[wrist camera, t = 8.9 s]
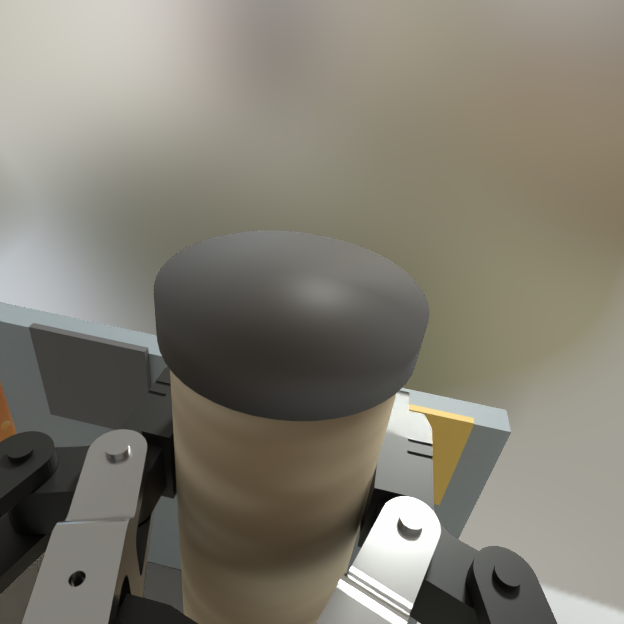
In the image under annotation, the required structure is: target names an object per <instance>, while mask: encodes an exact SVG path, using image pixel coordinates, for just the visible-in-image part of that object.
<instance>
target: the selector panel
mask: <svg viewBox="0 0 624 624" xmlns="http://www.w3.org/2000/svg"><path fill="white" fill-rule="evenodd" d="M166 367H168V366H167V365H166V363H165V362H164V359H163V357H162V355H161V353H160V351H159V346H158V342H157V336H156V335H152V334H147V333H142V332H138V331H133V330H128V329H123V328H119V327H114V326H109V325H105V324H100V323H95V322H90V321H86V320H81V319H77V318H72V317H67V316H62V315H58V314H53V313H48V312H44V311H39V310H34V309H29V308H25V307H20V306H16V305H10V304H6V303H2V302H0V382H1V385H2V388H3V392H4V395H5V398H6V401H7V404H8V407H9V411H10V414H11V417H12V420H13V423H14V426H15V430H16V433H17V434H18V433H22V432H28V431H37V432H42V433H45V434H47V435H48V436H50V437H51V438H52V440H53V442H54V446H55V447H75V446H89V445H91V444H92V443H93V442H94V441H95V440H96V439H97V438H98V437H100V436H102V435H103V434H105V433H108V432H110V431H114V430H119V429H120V428H121V427H122V426H123V424H124V423H125V422H126V420H127V419H128V417H129V416H130V415H131V413H132V412H133V411H134V409H135V408H136V407H137V405H138V404H139V403H140V401H141V400H142V398H143V397H144V396H145V394H146V393H148V391H149V389H150V388H151V386H152V385H153V384H154V383H155V382H156V379H157V378H158V377H159V375H160V374H161V373H162V371H163V370H164V369H165V368H166ZM400 390H401V391H406V392H409V394H410V398H409V411H413V412H417V413H422V414H425V416H426V418H427V420H428V422H429V424H430V426H431V428H432V447H433V457H432V459H433V496H434V510H435V513H436V516H437V518H438V520H439V521H440V523H441V524H442V526H443V527H444V528H445V529H446V530H447V531H448V532H449V533H450V534H451V535H452V536H454V537H455V538H457V539H458V538H459V536H460V534H461V532H462V530H463V528H464V526H465V524H466V522H467V520H468V518H469V516H470V514H471V512H472V510H473V508H474V506H475V504H476V502H477V500H478V498H479V496H480V494H481V492H482V490H483V488H484V486H485V484H486V482H487V480H488V478H489V476H490V474H491V472H492V470H493V468H494V466H495V463H496V462H497V460H498V457H499V456H500V454H501V452H502V449H503V447H504V445H505V443H506V441H507V439H508V437H509V435H510V433H511V429H510V425H509V420H508V416H507V412H506V410H503V409H499V408H494V407H489V406H485V405H480V404H475V403H470V402H466V401H461V400H456V399H452V398H447V397H442V396H438V395H433V394H428V393H423V392H419V391H414V390H409V389H405V388H401V389H400ZM360 523H361V522H360ZM359 531H360V526H359V530H358V533H357V537H356V540H355V544H354V547H353V551H352V555H351V558H350V562H349V565H348V569H347V573H348V571H349V570H350V568H351V566H352V564H353V563H354V561H355V559H356V557H357V555H358V553H359V551H360V550H361V548H362V547H358V539H359ZM147 561H148V562H152V563H156V564H160V565H164V566H168V567H172V568H176V569H179V570H181V558H180V540H179V522H178V504H177V493H176V495H175V497H174V499H172V498H168V497H164V496H161V497H160V499H159V501H158V503H157V504H156V506H155V508H154V520H153V527H152V533H151V540H150V547H149V554H148V560H147ZM347 573H346V574H347ZM416 623H417V621H416V620H415V619H413V618H412V617H410V616H409V619H408V621H407V624H416Z"/></svg>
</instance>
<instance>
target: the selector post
mask: <svg viewBox="0 0 624 624" xmlns="http://www.w3.org/2000/svg"><path fill="white" fill-rule="evenodd" d="M154 302H155V317H156V330H157V342H158V346H159V351H160V353H161V355H162V357H163V359H164V362H165V363H166V365H167V366H168V367H169V369H170V379H171V397H172V415H173V433H174V451H175V469H176V487H177V504H178V522H179V540H180V558H181V576H182V594H183V612H184V615H186V616H187V617H189V618H190V619H192V620H193V621H195V622H197V623H198V624H316V623H317V621H318V619H319V617H320V615H321V613H322V612H323V610H324V608H325V606H326V604H327V603H328V601H329V599H330V597H331V595H332V593H333V592H334V590H335V588H336V586H337V584H338V583H339V581H340V579H341V578H342V576H343V575H344V574H345V573H347V569H348V565H349V562H350V558H351V555H352V551H353V547H354V544H355V540H356V537H357V533H358V530H359V526H360V522H361V519H362V515H363V512H364V508H365V505H366V501H367V497H368V494H369V490H370V487H371V483H372V479H373V476H374V472H375V469H376V465H377V462H378V458H379V454H380V451H381V447H382V444H383V440H384V437H385V433H386V429H387V426H388V422H389V419H390V415H391V411H392V408H393V404H394V401H395V397H396V394H397V392H398V391H399V390H400V389H401V388H402V387H403V386H404V385H405V384H406V383H407V381H408V380H409V378H410V377H411V375H412V373H413V370H414V367H415V365H416V361H417V358H418V355H419V351H420V348H421V344H422V341H423V338H424V334H425V331H426V327H427V324H428V319H429V307H428V302H427V300H426V297H425V295H424V293H423V291H422V290H421V288H420V286H419V285H418V284H417V283H416V282H415V281H414V279H413V278H412V277H411V276H410V275H408V274H407V273H406V272H405V271H404V270H403V269H401V268H400V267H398V266H397V265H395V264H394V263H392V262H391V261H389V260H388V259H386V258H384V257H383V256H380V255H378V254H376V253H374V252H372V251H370V250H367V249H365V248H363V247H360V246H357V245H355V244H352V243H349V242H345V241H341V240H338V239H335V238H330V237H325V236H321V235H315V234H309V233H302V232H292V231H247V232H238V233H232V234H227V235H221V236H217V237H213V238H209V239H206V240H204V241H201V242H198V243H195V244H193V245H191V246H189V247H187V248H185V249H183V250H181V251H180V252H179V253H176V255H174V256H173V257H172V258H170V259H169V260H168V261H167V262H166V263H165V264H164V266H163V267H162V268H161V269H160V271H159V273H158V275H157V277H156V280H155V284H154Z"/></svg>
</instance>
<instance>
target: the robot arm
mask: <svg viewBox="0 0 624 624" xmlns="http://www.w3.org/2000/svg"><path fill="white" fill-rule="evenodd" d="M409 398H410V394H409V392H406V391H401V390H399V391H398V392H397V394H396V397H395V401H394V404H393V408H392V411H391V415H390V419H389V422H388V426H387V429H386V433H385V437H384V440H383V444H382V447H381V451H380V454H379V458H378V462H377V465H376V469H375V472H374V476H373V479H372V483H371V487H370V490H369V494H368V497H367V501H366V505H365V508H364V512H363V515H362V519H361V523H360V531H359V539H358V547H362V548H361V550H360V551H359V553H358V555H357V557H356V559H355V561H354V563H353V564H352V566H351V568H350V570H349V571H348V573H347V574H346V573H345V574H344V575H343V576H342V578H341V579H340V581H339V583H338V584H337V586H336V588H335V590H334V592H333V593H332V595H331V597H330V599H329V601H328V603H327V604H326V606H325V608H324V610H323V612H322V613H321V615H320V617H319V619H318V621H317V623H316V624H407V621H408V619H409V616H410V617H412V618H413V619H415V620H416V621H418V622H419V623H421V624H557V622H556V620H555V617H554V615H553V613H552V611H551V608H550V606H549V604H548V602H547V599H546V597H545V595H544V593H543V590H542V588H541V586H540V584H539V581H538V579H537V577H536V575H535V573H534V571H533V570H532V568H531V567H530V566H529V565H528V563H527V562H526V561H525V560H524V559H523V558H521V557H520V556H519V555H518V554H516V553H515V552H513V551H511V550H509V549H506V548H503V547H499V546H489V547H485V548H483V549H481V550H480V551H477V550H475V549H474V548H472V547H470V546H468V545H467V544H465V543H463V542H461V541H460V540H458V539H457V538H455V537H454V536H452V535H451V534H450V533H449V532H448V531H447V530H446V529H445V528H444V527H443V526H442V524H441V523H440V521H439V520H438V518H437V516H436V513H435V510H434V496H433V459H432V457H433V447H432V428H431V426H430V424H429V422H428V420H427V418H426V416H425V414H422V413H417V412H413V411H409ZM176 493H177V487H176V469H175V451H174V433H173V415H172V397H171V379H170V369H169V367H166V368H165V369H164V370H163V371H162V373H161V374H160V375H159V377H158V378H157V379H156V382H155V383H154V384H153V385H152V386H151V388H150V389H149V391H148V393H146V394H145V396H144V397H143V398H142V400H141V401H140V403H139V404H138V405H137V407H136V408H135V409H134V411H133V412H132V413H131V415H130V416H129V417H128V419H127V420H126V422H125V423H124V424H123V426H122V427H121V428H120V429H119V430H114V431H110V432H108V433H105V434H103V435H102V436H100V437H98V438H97V439H96V440H95V441H94V442H93V443H92V444H91V445H89V446H75V447H55V446H54V442H53V440H52V438H51V437H50V436H48V435H47V434H45V433H42V432H37V431H28V432H22V433H18V434H15V435H12V436H10V437H8V438H6V439H4V440H3V441H1V442H0V594H1V593H2V592H3V591H4V590H5V589H6V588H7V587H8V586H9V585H10V584H11V583H12V582H13V581H14V580H15V579H16V578H17V577H18V576H20V575H21V574H22V573H23V572H24V571H25V570H26V569H27V568H28V567H29V566H30V565H31V564H32V563H33V562H34V561H35V560H36V559H37V558H38V557H39V556H40V555H41V554H42V553H43V552H44V551H46V552H45V555H44V558H43V561H42V564H41V567H40V570H39V573H38V576H37V579H36V582H35V585H34V588H33V591H32V594H31V597H30V600H29V603H28V606H27V609H26V612H25V615H24V618H23V621H22V624H198V623H197V622H195V621H193V620H192V619H190V618H189V617H187V616H186V615H184V614H183V613H181V612H180V611H178V610H176V609H175V608H173V607H172V606H170V605H167V604H164V603H160V602H157V601H153V600H149V599H146V598H143V594H144V581H145V574H146V567H147V560H148V554H149V547H150V540H151V533H152V527H153V520H154V508H155V506H156V504H157V503H158V501H159V499H160V497H161V496H164V497H168V498H172V499H174V497H175V495H176Z"/></svg>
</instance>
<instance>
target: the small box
mask: <svg viewBox="0 0 624 624" xmlns="http://www.w3.org/2000/svg"><path fill="white" fill-rule="evenodd" d="M15 434H17V433H16V430H15V426H14V423H13V420H12V417H11V414H10V411H9V407H8V404H7V401H6V398H5V395H4V392H3V388H2V385H1V382H0V442H1V441H3V440H4V439H6V438H8V437H10V436H12V435H15Z"/></svg>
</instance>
